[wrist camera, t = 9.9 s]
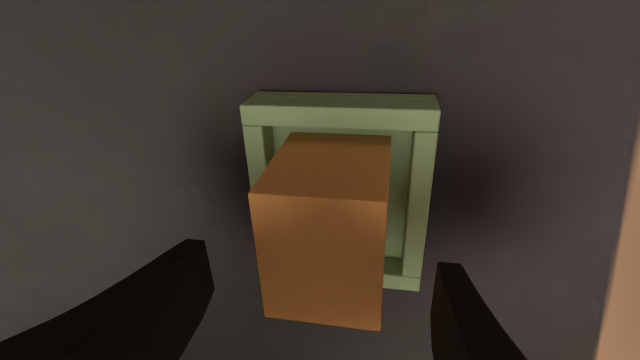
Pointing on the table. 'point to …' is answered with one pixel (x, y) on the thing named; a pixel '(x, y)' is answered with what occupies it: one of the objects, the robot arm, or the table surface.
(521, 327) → the table surface
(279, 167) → the brown rectangular block
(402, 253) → the open green tray
